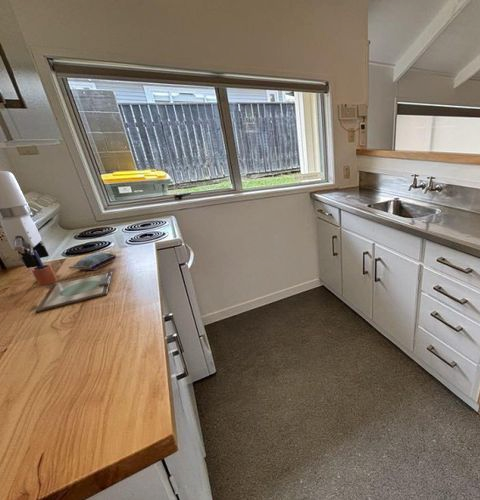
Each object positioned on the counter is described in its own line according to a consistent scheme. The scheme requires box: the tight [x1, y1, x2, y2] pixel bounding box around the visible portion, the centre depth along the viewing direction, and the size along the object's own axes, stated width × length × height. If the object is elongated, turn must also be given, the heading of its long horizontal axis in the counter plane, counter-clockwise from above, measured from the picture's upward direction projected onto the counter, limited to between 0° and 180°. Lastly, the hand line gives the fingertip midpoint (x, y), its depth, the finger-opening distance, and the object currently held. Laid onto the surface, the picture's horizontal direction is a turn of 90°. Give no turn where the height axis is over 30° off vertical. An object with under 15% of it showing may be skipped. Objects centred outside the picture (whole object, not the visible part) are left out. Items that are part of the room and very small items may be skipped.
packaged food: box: [68, 252, 118, 271], centre depth 108 cm, size 9×12×5 cm
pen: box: [33, 250, 45, 270], centre depth 95 cm, size 2×2×12 cm
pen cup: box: [30, 264, 58, 286], centre depth 96 cm, size 5×5×6 cm
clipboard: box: [34, 271, 113, 314], centre depth 91 cm, size 16×20×1 cm
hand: (38, 261), depth 95 cm, fingers open, 9 cm apart
